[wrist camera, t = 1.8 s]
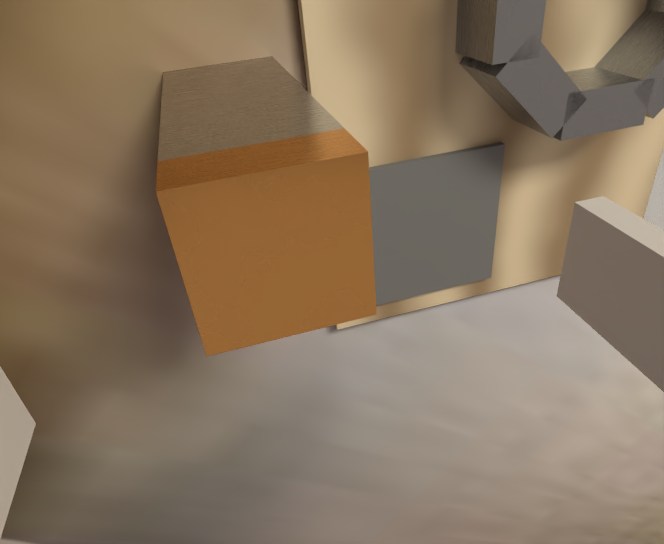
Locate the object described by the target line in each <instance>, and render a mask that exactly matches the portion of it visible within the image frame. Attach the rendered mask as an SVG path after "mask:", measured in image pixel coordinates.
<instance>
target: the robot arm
mask: <svg viewBox="0 0 664 544" xmlns="http://www.w3.org/2000/svg"><path fill="white" fill-rule="evenodd" d="M557 297H558V298H560V299H561V300H562V301H563V302H564V303H565V304H566V305H567V306H569V307H570V308H571V309H572V310H573V311H574V312H575V313H576V314H577V315H579V316H580V317H581V318H582V319H583V320H584V321H585V322H586V323H587V324H589V325H590V326H591V327H592V328H593V329H594V330H595V331H596V332H598V333H599V334H600V335H601V336H602V337H603V338H604V339H605V340H606V341H608V342H609V343H610V344H611V345H612V346H613V347H614V348H615V349H616V350H618V351H619V352H620V353H621V354H622V355H623V356H624V357H625V358H627V359H628V360H629V361H630V362H631V363H632V364H633V365H634V366H635V367H637V368H638V369H639V370H640V371H641V372H642V373H643V374H644V375H645V376H647V377H648V378H649V379H650V380H651V381H652V382H653V383H654V384H656V385H657V386H658V387H659V388H660V389H661V390H662V391H663V392H664V230H662V229H661V228H659V227H657V226H655V225H654V224H652V223H650V222H648V221H646V220H645V219H643V218H641V217H639V216H638V215H636V214H634V213H632V212H630V211H629V210H627V209H625V208H623V207H622V206H620V205H618V204H616V203H614V202H613V201H611V200H609V199H607V198H606V197H604V196H602V197H597V198H592V199H587V200H583V201H578V202H575V204H574V209H573V214H572V219H571V225H570V230H569V235H568V240H567V246H566V251H565V256H564V261H563V266H562V272H561V277H560V282H559V287H558V292H557ZM35 425H36V423H35V422H34V420H33V418H32V417H31V415H30V414H29V412H28V410H27V409H26V407H25V406H24V404H23V402H22V401H21V399H20V397H19V396H18V394H17V393H16V391H15V389H14V388H13V386H12V385H11V383H10V381H9V380H8V378H7V377H6V375H5V373H4V372H3V370H2V369H1V367H0V538H1V535H2V531H3V528H4V525H5V522H6V519H7V515H8V512H9V509H10V506H11V502H12V499H13V496H14V493H15V489H16V486H17V483H18V480H19V476H20V473H21V470H22V467H23V464H24V460H25V457H26V454H27V451H28V447H29V444H30V441H31V438H32V434H33V431H34V428H35Z"/></svg>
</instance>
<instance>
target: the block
mask: <svg viewBox="0 0 664 544" xmlns="http://www.w3.org/2000/svg"><path fill="white" fill-rule="evenodd" d="M156 194H157V197H158V200H159V204H160V207H161V210H162V213H163V217H164V220H165V223H166V226H167V230H168V233H169V236H170V239H171V243H172V246H173V249H174V252H175V256H176V259H177V262H178V265H179V268H180V272H181V275H182V278H183V281H184V285H185V288H186V291H187V294H188V298H189V301H190V304H191V307H192V311H193V314H194V317H195V320H196V324H197V327H198V330H199V333H200V337H201V340H202V343H203V346H204V350H205V353H206V356H210V355H214V354H219V353H223V352H227V351H231V350H235V349H239V348H243V347H247V346H251V345H255V344H259V343H263V342H267V341H271V340H276V339H280V338H284V337H288V336H292V335H296V334H300V333H304V332H308V331H312V330H316V329H320V328H324V327H328V326H333V325H337V324H341V323H345V322H349V321H353V320H357V319H361V318H365V317H369V316H373V315H377V311H376V292H375V273H374V253H373V234H372V215H371V196H370V176H369V157H368V151H367V150H366V149H365V148H364V147H363V146H362V145H361V144H360V143H359V142H358V141H357V140H356V139H355V138H354V137H353V136H352V135H351V134H350V133H349V132H348V131H347V130H346V129H345V128H344V127H343V126H342V125H341V124H340V123H339V122H338V121H337V120H336V119H335V118H334V117H333V116H332V115H331V114H330V113H329V112H328V111H327V110H326V109H325V108H324V107H323V106H322V105H321V104H320V103H319V102H318V101H317V100H316V99H315V98H314V97H313V96H312V95H311V94H310V93H309V92H308V91H307V90H306V89H305V88H304V87H303V86H302V85H301V84H300V83H299V82H298V81H297V80H295V79H294V78H293V77H292V76H291V75H290V74H289V73H288V72H287V71H286V70H285V69H284V68H283V67H282V66H281V65H280V64H279V63H278V62H277V61H276V60H275V59H274V58H273V57H272V56H271V57H264V58H257V59H251V60H244V61H237V62H230V63H223V64H217V65H210V66H203V67H196V68H189V69H183V70H176V71H169V72H163V85H162V101H161V117H160V132H159V148H158V163H157V179H156Z"/></svg>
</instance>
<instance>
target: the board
mask: <svg viewBox="0 0 664 544" xmlns="http://www.w3.org/2000/svg"><path fill="white" fill-rule="evenodd" d="M457 2H458V0H298V8H299V17H300V26H301V35H302V44H303V52H304V61H305V70H306V79H307V88H308V92H309V93H310V94H311V95H312V96H313V97H314V98H315V99H316V100H317V101H318V102H319V103H320V104H321V105H322V106H323V107H324V108H325V109H326V110H327V111H328V112H329V113H330V114H331V115H332V116H333V117H334V118H335V119H336V120H337V121H338V122H339V123H340V124H341V125H342V126H343V127H344V128H345V129H346V130H347V131H348V132H349V133H350V134H351V135H352V136H353V137H354V138H355V139H356V140H357V141H358V142H359V143H360V144H361V145H362V146H363V147H364V148H365V149H366V150H367V151H368V157H369V167H373V166H378V165H384V164H389V163H394V162H399V161H405V160H410V159H415V158H420V157H425V156H431V155H436V154H441V153H446V152H452V151H457V150H462V149H467V148H472V147H478V146H483V145H488V144H493V143H499V142H502V143H504V144H505V149H504V159H503V169H502V178H501V188H500V198H499V208H498V217H497V227H496V237H495V246H494V256H493V266H492V275H491V278H488V279H484V280H480V281H476V282H472V283H468V284H464V285H459V286H455V287H451V288H447V289H443V290H439V291H435V292H431V293H426V294H422V295H418V296H414V297H410V298H406V299H402V300H397V301H393V302H389V303H385V304H381V305H377V306H376V311H377V315H373V316H369V317H365V318H361V319H357V320H353V321H349V322H345V323H341V324H337V325H335V326H336V328H337V330H338V329H342V328H346V327H351V326H355V325H359V324H363V323H367V322H371V321H375V320H379V319H383V318H387V317H391V316H395V315H399V314H403V313H407V312H411V311H415V310H419V309H423V308H428V307H432V306H436V305H440V304H444V303H448V302H452V301H456V300H460V299H464V298H468V297H472V296H476V295H480V294H484V293H488V292H492V291H496V290H500V289H504V288H509V287H513V286H517V285H521V284H525V283H529V282H533V281H537V280H541V279H545V278H549V277H553V276H557V275H561V272H562V266H563V261H564V256H565V251H566V246H567V240H568V235H569V230H570V225H571V219H572V214H573V209H574V204H575V202H578V201H583V200H587V199H592V198H597V197H602V196H604V197H606V198H607V199H609V200H611V201H613V202H614V203H616V204H618V205H620V206H622V207H623V208H625V209H627V210H629V211H630V212H632V213H634V214H636V215H638V216H639V217H641V218H644V214H645V211H646V207H647V204H648V200H649V197H650V193H651V190H652V186H653V182H654V179H655V175H656V172H657V168H658V165H659V161H660V158H661V154H662V151H663V147H664V108H663V109H662V110H661V111H660V112H659V113H658V114H657V115H656V116H655V117H654V119H653V118H650V117H647V116H645V120H644V124H643V125H640V126H634V127H629V128H624V129H619V130H614V131H609V132H604V133H599V134H594V135H588V136H583V137H578V138H573V139H568V140H563V141H560V140H558V139H556V138H554V137H553V138H550V137H548V136H546V135H544V134H542V133H540V132H537V131H535V130H533V129H531V128H529V127H527V126H525V125H523V124H521V123H519V122H517V121H515V120H512V118H511V117H510V116H509V115H508V114H507V113H506V112H505V111H504V110H503V109H502V108H501V107H500V106H499V105H498V104H497V103H496V102H495V101H494V100H493V98H492V97H491V96H490V95H489V94H488V93H487V92H486V91H485V90H484V89H483V88H482V87H481V86H480V85H479V84H478V83H477V82H476V81H475V80H474V79H473V77H472V76H471V75H470V74H469V73H468V72H467V71H466V70H465V69H464V68H463V67H462V66H461V65H460V64H459V62H460V61H461V60H462V59H463V57H464V55H461V54H458V53H456V52H455V49H456V25H457ZM646 4H647V0H546V8H545V15H544V23H543V31H542V39H541V42H542V44H543V45H544V46H545V47H546V49H547V50H548V51H549V52H550V54H551V55H552V56H553V57H554V59H555V60H556V61H557V62H558V64H559V65H560V66H561V68H562V69H563V70H564V71H565V72H568V71H574V70H580V69H586V68H592V67H595V66H596V65H597V64H598V62H599V61H600V60H601V59H602V58H603V57H604V56H605V55H606V53H607V52H608V51H609V50H610V49H611V48H612V47H613V46H614V45H615V43H616V42H617V41H618V40H619V39H620V38H621V37H622V36H623V34H624V33H625V32H626V31H627V30H628V29H629V28H630V27H631V25H632V24H633V23H634V22H635V21H636V20H637V19H638V18H639V16H640V15H641V14H642V13H643V12H644V11H645V9H646Z"/></svg>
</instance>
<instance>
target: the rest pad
mask: <svg viewBox="0 0 664 544" xmlns="http://www.w3.org/2000/svg"><path fill="white" fill-rule="evenodd" d="M504 149H505V144H504V143H502V142H499V143H493V144H488V145H483V146H478V147H472V148H467V149H462V150H457V151H452V152H446V153H441V154H436V155H431V156H425V157H420V158H415V159H410V160H405V161H399V162H394V163H389V164H384V165H378V166H373V167H369V176H370V196H371V215H372V234H373V253H374V273H375V292H376V306H377V305H381V304H385V303H389V302H393V301H397V300H402V299H406V298H410V297H414V296H418V295H422V294H426V293H431V292H435V291H439V290H443V289H447V288H451V287H455V286H459V285H464V284H468V283H472V282H476V281H480V280H484V279H488V278H491V275H492V266H493V256H494V246H495V237H496V227H497V217H498V208H499V198H500V188H501V178H502V169H503V159H504Z"/></svg>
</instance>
